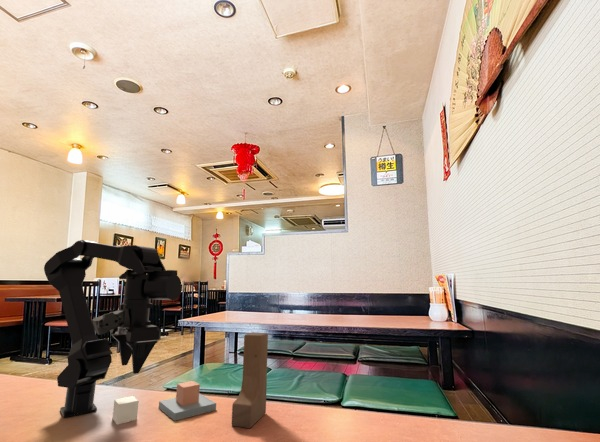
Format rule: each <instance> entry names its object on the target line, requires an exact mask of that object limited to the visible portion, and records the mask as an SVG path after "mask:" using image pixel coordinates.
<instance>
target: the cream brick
mask: <svg viewBox="0 0 600 442" xmlns="http://www.w3.org/2000/svg"><path fill="white" fill-rule="evenodd" d="M139 403H140V400H139V399H138V398H137V397H135V396H134V395H131V396H126V397H121V398H117V399H116V398H115V399H113V412H112V420H113V422H114V423H115V424H116V425H120V424H125V423H128V422H134V421H137V420H138V411H139Z"/></svg>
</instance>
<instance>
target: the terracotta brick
mask: <svg viewBox="0 0 600 442" xmlns="http://www.w3.org/2000/svg"><path fill="white" fill-rule="evenodd" d="M200 386H201V385H200V383H198V382H196V381H194V380H191V381H185V382H180V383H177V385H176V392H175V393H176V394H175V395H176V397H175V398H176V402H177V403H179V404H180V405H182V406H185V405H189V404H193V403H198V402H199V393H200V388H201V387H200Z"/></svg>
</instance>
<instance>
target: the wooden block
mask: <svg viewBox="0 0 600 442" xmlns="http://www.w3.org/2000/svg"><path fill="white" fill-rule="evenodd" d="M243 337H244V338H243V340H244V341H243V356H242V357H243V358H242V359H243V360H242V362H243V363H242V380H241V387H240V392H239V394H238V397H237V398H236V399H235V401H234V402H232V405H231V406H232V407H231V426H232V427H237V428H244V429H245V428H246V429H251V428H253V426H254V425H255V424H256V423H257V422H258V421H259V420H260V419H261V418H262V417H263V416H264V415H265V414H266V411H267V387H268V386H267V384H268V383H267V380H268V379H267V377H268V376H267V375H268V349H269V348H268V344H269V343H268V342H269V334H268V333H267V332H254V331H253V332H248V333H247V334H244V336H243Z"/></svg>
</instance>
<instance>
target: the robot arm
mask: <svg viewBox="0 0 600 442" xmlns="http://www.w3.org/2000/svg"><path fill="white" fill-rule="evenodd" d="M81 256H82V257H81ZM79 257H81V258H79ZM94 258H96V259H100V260H101V259H102V260H107V261H113V262H115V263H118V265H119V266H121V267H123V268H125V269H126V270H125V271H124V272H123V273H122V274H120V275H119V276H118V278H119V279H120V280H125V286H124V287H125V288H124V294H123V295H124V296H123V302H120V304H119V307H118V310H115V311H109V313H103V314H102V315H101V316H98V317H94V318H93V319H92V318H91V313H90V311H89V305H88V303H87V299H86V295H85V291H84V288H83V283H84V281H85V278H86V275H87V273H86V271H87V270H88V269H89V268H90V267H92V264H93V259H94ZM43 266H44V267H43V271H44V274H45V276H46V280H47V281H48V283H49V285H51V287H53V288H54V289H55V290H57V291H58V293H59V297H60V302H61V305H62V309H63V312H64V317H65V320H66V325H67V327H68V331H69V336H70V340H71V346H70V349H69V353H68V355H67V365H66V367H64V369H63V370H62V371H61V372H60V373H59V374H58V375H57V378H56V381H57V386H58V387H59V388H66V394H65V400H64V406H62V407H60V408H59V409H60V413H61V415H62V417H63V418H68V417H74V416H78V415H83V414H88V413H92V412H97V410H98V408H97V406H96V404H95V402H94V401H95V393H96V386H97V385H96V384H97V381H101V380H104V379H106V375H107V373H108V370H109V368H110V366H111V363H112V361H113V359H112V355H113V351H112V350H111V347H110V342H109V340H108V338H102V339H100V338H99V337H98V335H99V336H100V335H104V334H106V333H108V332H109V333H111V336H112V338H113V339H115V340H116V342H118V349H119V356H120V362H121V365H122V367H123V366H127V365H128V363H129V362H130V359H131V360H132V361H131V362H132V363H131V364H132V373H133V374H134V375H135V374H136V375H137V374H139V373H140V372H141V369H142V368H143V366H144V364H145V363H146V361H147V358H149V355H150V354H151V351H153V348H154V347H155V345H156V344H157V343H158V342H159V340H161V338H162V337H161V336H162V329H161V328H159V326H157V325H154V324H152V321H151V320H149V318H150V309H153V307H154V303H151V300H158V301H159V300H160V301H161V300H162V301H163V300H164V301H175V300H177V299H178V298H179V297H180V296H181V294H182V290H183V284H182V281H181V277H179V275H178V270H174V269H166V267H165V265H164V263H163V262H162V260H161V258H160V253H159V251H158V250H157V248H155V247H150V246H142V245H136V244H133V245H132V244H131V245H122V246H118V245H117V246H116V245H111V244H106V243H100V242H99V243H98V242H96V241H92V240H86V239H81V240H77V241H75V242H74V243H73V244H72V245H71V246H68V247H66V248H64V249H61V250H60V251H57V252H56V253H54V255H52V256H51V257H50V258H49V259H48V260H47V261H46V262H45V264H44V265H43ZM96 334H97V335H96Z"/></svg>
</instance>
